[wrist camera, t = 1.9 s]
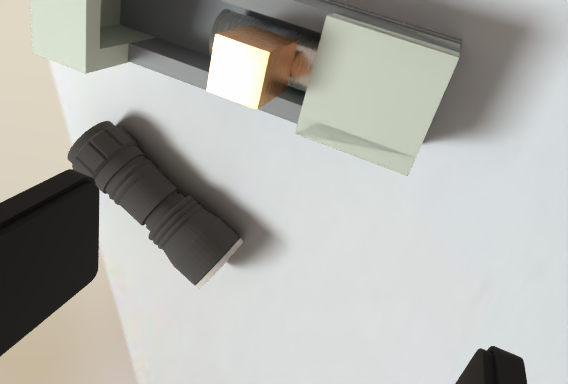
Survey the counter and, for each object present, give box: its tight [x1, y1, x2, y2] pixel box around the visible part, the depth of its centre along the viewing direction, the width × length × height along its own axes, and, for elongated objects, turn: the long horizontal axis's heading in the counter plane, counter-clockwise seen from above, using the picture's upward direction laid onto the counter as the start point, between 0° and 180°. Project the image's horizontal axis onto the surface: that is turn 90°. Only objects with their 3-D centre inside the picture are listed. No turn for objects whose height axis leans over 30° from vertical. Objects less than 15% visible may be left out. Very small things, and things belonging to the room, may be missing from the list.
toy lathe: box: [30, 0, 462, 176], centre depth 27 cm, size 24×7×8 cm, turn 76°
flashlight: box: [68, 121, 244, 289], centre depth 37 cm, size 15×5×5 cm, turn 51°
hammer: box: [207, 9, 320, 109], centre depth 25 cm, size 14×3×8 cm, turn 76°
